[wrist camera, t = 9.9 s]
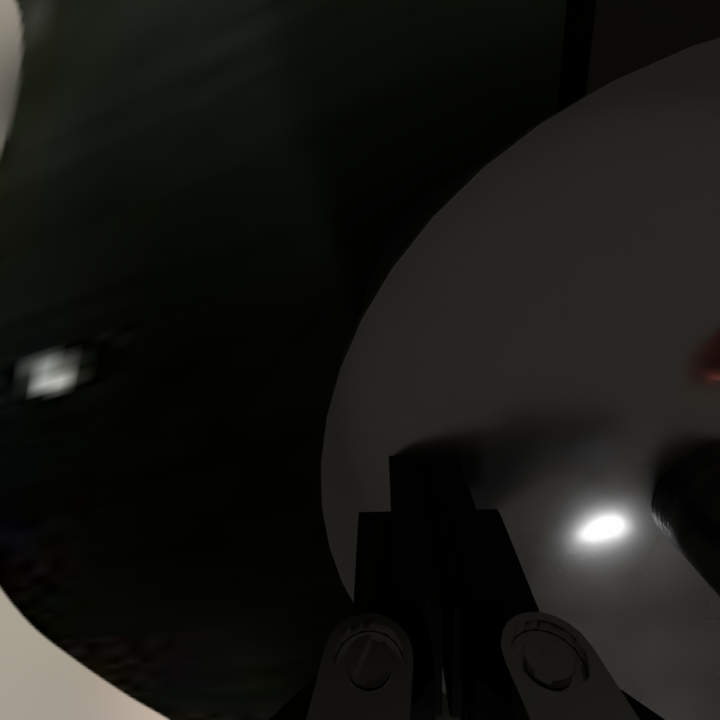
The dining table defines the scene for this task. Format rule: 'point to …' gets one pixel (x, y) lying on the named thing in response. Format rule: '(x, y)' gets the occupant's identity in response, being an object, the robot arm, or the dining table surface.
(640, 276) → the cooker lid
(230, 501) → the dining table surface
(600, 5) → the cooker pot
